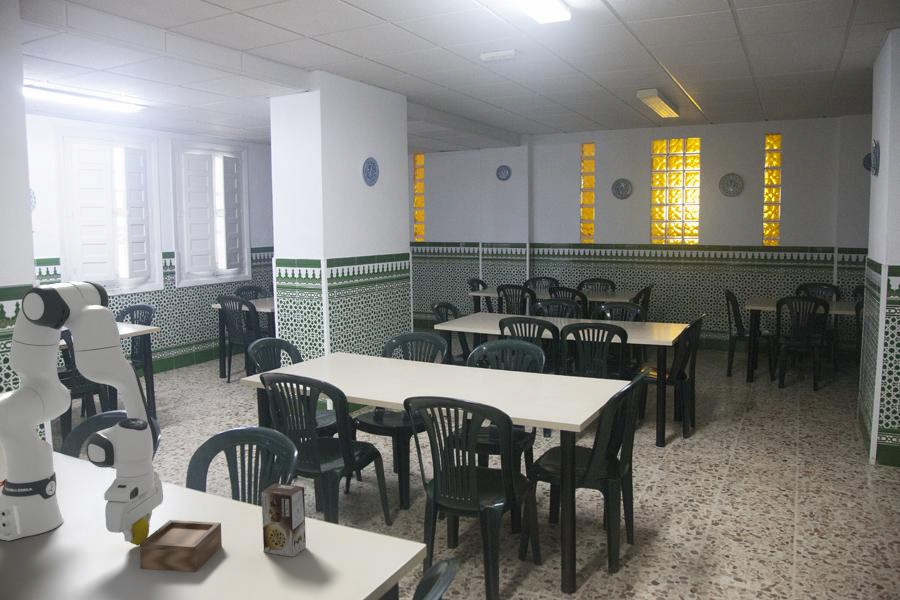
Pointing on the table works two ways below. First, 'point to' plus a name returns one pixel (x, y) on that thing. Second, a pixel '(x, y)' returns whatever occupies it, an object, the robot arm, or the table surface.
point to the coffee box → (283, 519)
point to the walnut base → (180, 545)
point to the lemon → (140, 531)
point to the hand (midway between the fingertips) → (137, 534)
